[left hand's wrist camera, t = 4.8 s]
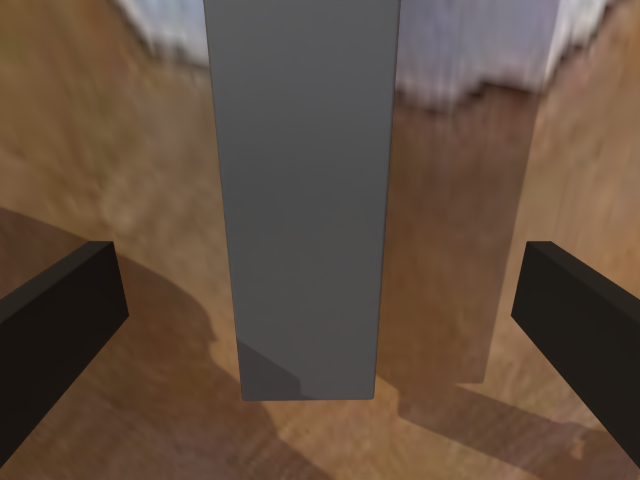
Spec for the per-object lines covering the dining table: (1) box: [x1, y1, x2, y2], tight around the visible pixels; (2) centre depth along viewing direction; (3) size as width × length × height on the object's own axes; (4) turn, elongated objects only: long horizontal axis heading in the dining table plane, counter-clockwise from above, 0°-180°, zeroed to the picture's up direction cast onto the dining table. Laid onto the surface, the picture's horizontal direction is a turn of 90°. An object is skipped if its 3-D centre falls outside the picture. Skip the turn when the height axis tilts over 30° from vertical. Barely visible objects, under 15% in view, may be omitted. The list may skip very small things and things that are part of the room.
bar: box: [203, 0, 401, 401], centre depth 13 cm, size 23×5×8 cm, turn 0°
